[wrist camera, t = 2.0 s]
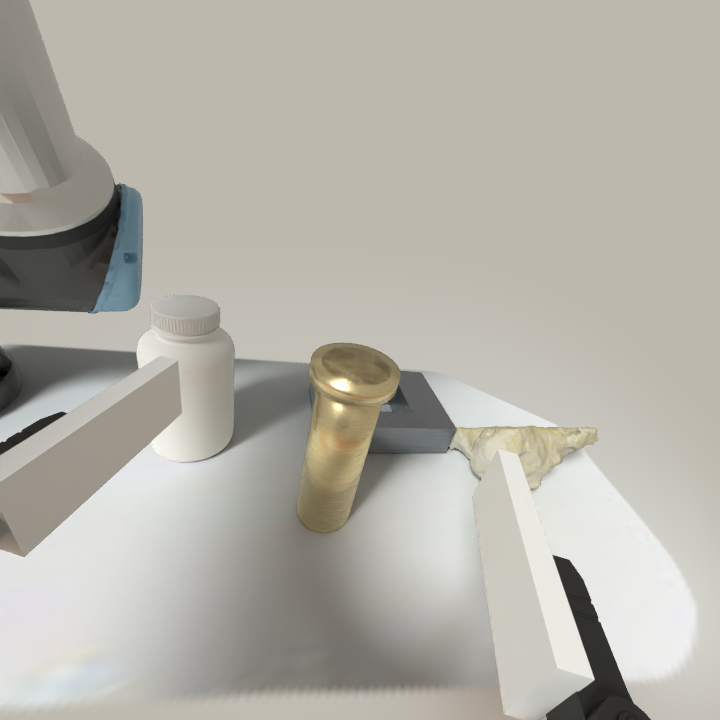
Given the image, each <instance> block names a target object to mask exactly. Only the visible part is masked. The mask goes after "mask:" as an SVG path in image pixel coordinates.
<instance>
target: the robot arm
mask: <svg viewBox="0 0 720 720" xmlns="http://www.w3.org/2000/svg"><path fill="white" fill-rule="evenodd" d="M142 249H143V207H142V198H141V195H140V193H139V192H138V191H137V190H136V189H134V188H130V187H127V186H126V185H125V184H120V183H119V184H117V185H115V183H114V179H113V176H112V173H111V170H110V168H109V166H108V164H107V162H106V161H105V159H104V158H103V157H102V156H101V154H100V153H99V152H98V151H97V150H96V149H94V148H93V147H92V146H91V145H90V144H88V143H87V142H86V141H84V140H83V139H81V138H80V137H78V136H76V135H75V133H74V130H73V127H72V124H71V121H70V119H69V115H68V112H67V110H66V106H65V104H64V101H63V98H62V95H61V92H60V90H59V86H58V83H57V80H56V78H55V75H54V72H53V69H52V66H51V63H50V60H49V57H48V54H47V51H46V48H45V45H44V42H43V40H42V37H41V34H40V31H39V28H38V25H37V22H36V19H35V16H34V13H33V11H32V7H31V5H30V2H29V0H0V309H18V310H21V309H22V310H45V311H71V312H88V313H93V314H95V313H98V312H103V311H104V312H106V311H127V310H130V309H132V308H134V307H135V306H136V305H137V303H138V302H139V299H140V292H141V279H142V252H143V250H142ZM20 388H21V378H20V375H19V372H18V370H17V367H16V364H15V362H14V361H13V359H12V358H11V357H10V356H9V354H8V353H7V352H6V351H5V350H4V349H3V348H2V347H1V346H0V410H2V409H3V408H4V407H5V406H7V405H8V404H9V403H10V402H11V401H12V400H13V399H14V398H15V397H16V395H17V394H18V392H19V390H20ZM181 414H182V404H181V391H180V378H179V365H178V360H175V359H171V358H168V357H164V356H159V357H158V358H156V359H154V360H153V361H151V362H150V363H148V364H146V365H145V366H143V367H142V368H140V369H138V370H137V371H135V372H134V373H132V374H130V375H129V376H127V377H125V378H124V379H122V380H121V381H119V382H117V383H116V384H114V385H113V386H111V387H109V388H108V389H106V390H105V391H103V392H101V393H100V394H98V395H97V396H95V397H93V398H92V399H90V400H88V401H87V402H85V403H84V404H82V405H80V406H79V407H77V408H76V409H74V410H72V411H71V412H69V413H65V412H59V413H56V414H54V415H51V416H48V417H45V418H43V419H40V420H38V421H37V422H35V423H33V424H32V425H30V426H28V427H26V428H25V429H23V430H22V432H21V433H19V432H18V433H16V434H15V435H13V436H11V437H10V438H8V439H7V440H6V442H1V443H0V549H2V550H5V551H8V552H11V553H14V554H17V555H20V556H23V557H25V556H26V555H27V554H28V553H29V552H30V551H32V550H33V549H34V548H35V547H36V546H37V545H38V544H39V543H40V542H41V541H43V540H44V539H45V538H46V537H47V536H48V535H49V534H50V533H51V532H52V531H53V530H55V529H56V528H57V527H58V526H59V525H60V524H61V523H62V522H63V521H64V520H66V519H67V518H68V517H69V516H70V515H71V514H72V513H73V512H74V511H75V510H77V509H78V508H79V507H80V506H81V505H82V504H83V503H84V502H85V501H86V500H88V499H89V498H90V497H91V496H92V495H93V494H94V493H95V492H96V491H97V490H98V489H100V488H101V487H102V486H103V485H104V484H105V483H106V482H107V481H108V480H109V479H111V478H112V477H113V476H114V475H115V474H116V473H117V472H118V471H119V470H120V469H122V468H123V467H124V466H125V465H126V464H127V463H128V462H129V461H130V460H131V459H133V458H134V457H135V456H136V455H137V454H138V453H139V452H140V451H141V450H142V449H143V448H145V447H146V446H147V445H148V444H149V443H150V442H151V441H152V440H153V439H154V438H156V437H157V436H158V435H159V434H160V433H161V432H162V431H163V430H164V429H165V428H167V427H168V426H169V425H170V424H171V423H172V422H173V421H174V420H175V419H176V418H178V417H179V416H180V415H181ZM472 499H473V506H474V513H475V520H476V527H477V533H478V540H479V547H480V554H481V561H482V568H483V575H484V582H485V589H486V596H487V603H488V609H489V616H490V623H491V630H492V637H493V644H494V651H495V658H496V665H497V672H498V679H499V686H500V692H501V699H502V706H503V713H504V714H505V715H508V716H511V717H514V718H517V719H520V720H541V719H543V718H544V717H545V716H546V717H547V720H651V719H650V718H649V717H648V716H647V715H646V714H645V713H644V712H643V711H642V710H641V709H640V708H638V707H637V706H636V705H635V704H634V703H633V701H632V699H631V697H630V695H629V693H628V691H627V688H626V686H625V683H624V681H623V678H622V676H621V673H620V671H619V668H618V666H617V663H616V661H615V658H614V656H613V653H612V651H611V648H610V646H609V643H608V641H607V638H606V636H605V633H604V631H603V628H602V626H601V623H600V622H598V616H597V613H596V611H595V608H594V606H593V604H591V598H590V596H589V593H588V591H587V588H586V586H585V583H584V580H583V579H582V577H581V576H580V574H579V573H578V572H577V570H576V569H575V567H574V566H573V565H572V563H571V562H570V560H568V559H564V558H561V557H558V556H554V555H552V553H551V550H550V547H549V544H548V541H547V538H546V535H545V532H544V529H543V526H542V523H541V520H540V518H539V515H538V512H537V509H536V506H535V503H534V500H533V497H532V494H531V491H530V488H529V485H528V482H527V479H526V476H525V473H524V471H523V468H522V465H521V462H520V459H519V456H518V454H515V453H512V452H508V451H505V450H501V449H497V451H496V453H495V455H494V457H493V459H492V461H491V462H490V464H489V466H488V468H487V470H486V472H485V474H484V475H483V477H482V479H481V481H480V483H479V485H478V486H477V488H476V490H475V492H474V494H473V496H472Z"/></svg>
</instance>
